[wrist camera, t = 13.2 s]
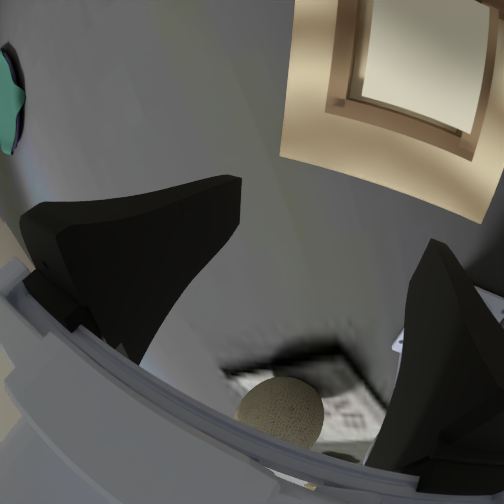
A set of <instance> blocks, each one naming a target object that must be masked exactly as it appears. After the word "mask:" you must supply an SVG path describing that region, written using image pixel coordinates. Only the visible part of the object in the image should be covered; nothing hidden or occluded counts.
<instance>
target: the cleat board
mask: <svg viewBox="0 0 504 504" xmlns="http://www.w3.org/2000/svg"><path fill="white" fill-rule="evenodd" d="M475 1H477V2H479V3H481V4H483V5H486V6H488V7H490V11H489V31H488V42H487V52H486V60H485V67H484V73H483V79H482V85H481V90H480V96H479V100H478V105H477V109H476V114H475V118H474V122H473V126H472V130H471V133H470V134H468V133H466V132H464V131H462V130H459V129H457V128H455V127H452V126H450V125H448V124H445V123H443V122H440V121H438V120H435V119H433V118H430V117H427V116H425V115H422V114H419V113H416V112H413V111H411V110H408V109H405V108H402V107H398V106H395V105H392V104H389V103H385V102H382V101H379V100H375V99H371V98H368V97H364V96H362V90H363V84H364V78H365V71H366V64H367V57H368V49H369V41H370V33H371V23H372V13H373V2H374V0H295V11H294V22H293V33H292V43H291V54H290V64H289V74H288V84H287V93H286V103H285V112H284V121H283V131H282V140H281V148H280V156H282V157H286V158H290V159H294V160H298V161H302V162H306V163H309V164H313V165H317V166H320V167H324V168H328V169H331V170H335V171H338V172H341V173H345V174H348V175H351V176H355V177H358V178H361V179H364V180H367V181H370V182H374V183H377V184H380V185H383V186H386V187H388V188H391V189H394V190H397V191H400V192H403V193H405V194H408V195H411V196H414V197H416V198H419V199H422V200H424V201H427V202H429V203H432V204H434V205H437V206H439V207H442V208H444V209H447V210H449V211H452V212H454V213H456V214H459V215H461V216H463V217H466V218H468V219H470V220H472V221H474V222H477V223H479V224H481V222H482V220H483V218H484V216H485V214H486V211H487V209H488V207H489V204H490V202H491V200H492V197H493V195H494V192H495V190H496V187H497V184H498V182H499V179H500V176H501V174H502V171H503V168H504V0H475Z"/></svg>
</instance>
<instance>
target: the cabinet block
mask: <svg viewBox="0 0 504 504" xmlns="http://www.w3.org/2000/svg"><path fill="white" fill-rule="evenodd" d="M489 11H490V7H488V6H486V5H483V4H481V3H479V2H477V1H475V0H374V2H373V13H372V23H371V33H370V41H369V49H368V57H367V64H366V71H365V78H364V84H363V90H362V96H364V97H368V98H371V99H375V100H379V101H382V102H385V103H389V104H392V105H395V106H398V107H402V108H405V109H408V110H411V111H413V112H416V113H419V114H422V115H425V116H427V117H430V118H433V119H435V120H438V121H440V122H443V123H445V124H448V125H450V126H452V127H455V128H457V129H459V130H462V131H464V132H466V133H468V134H470V133H471V130H472V126H473V122H474V118H475V114H476V109H477V105H478V100H479V96H480V90H481V85H482V79H483V73H484V67H485V60H486V52H487V42H488V31H489Z"/></svg>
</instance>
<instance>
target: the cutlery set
mask: <svg viewBox="0 0 504 504" xmlns="http://www.w3.org/2000/svg"><path fill="white" fill-rule="evenodd" d="M24 101H25V92H24V91H23V90H22V89H20V88H19V87H18V86H17V82H16V76H15V71H14V68H13V65H12V61H11V59H10V58H9V56H8V55H7V53H5V50H4V49H2V50H0V146H1V148H2V150H3V152H4V153H6V154H10V155H13V152H14V149H15V148H16V145H17V141H18V137H19V126H20V108H21V107H22V105H23V103H24Z"/></svg>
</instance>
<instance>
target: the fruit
mask: <svg viewBox="0 0 504 504" xmlns="http://www.w3.org/2000/svg"><path fill="white" fill-rule="evenodd" d="M234 419H235V420H237V421H239V422H241V423H244V424H246V425H248V426H250V427H253V428H255V429H257V430H260V431H262V432H264V433H267V434H269V435H272V436H274V437H277V438H279V439H282V440H284V441H287V442H290V443H292V444H295V445H298V446H301V447H303V448H306V449H309V450H310V449H311V448H312V446H313V445H314V443H315V442H316V440H317V439H318V437H319V435H320V432H321V429H322V426H323V421H324V408H323V403H322V400H321V398H320V396H319V394H318V393H317V391H316V390H315V389H314V388H312V387H311V386H310V385H308V384H306V383H304V382H303V381H301V380H298V379H296V378H293V377H274V378H271V379H268V380H265V381H263V382H261V383H260V384H258V385H257V386H255V387H254V388H253V389H252V390H250V391H249V392H248V393H247V395H246V396H245V397H244V398H243V399H242V401H241V403H240V404H239V406H238V408H237V410H236V414H235V416H234Z"/></svg>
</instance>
